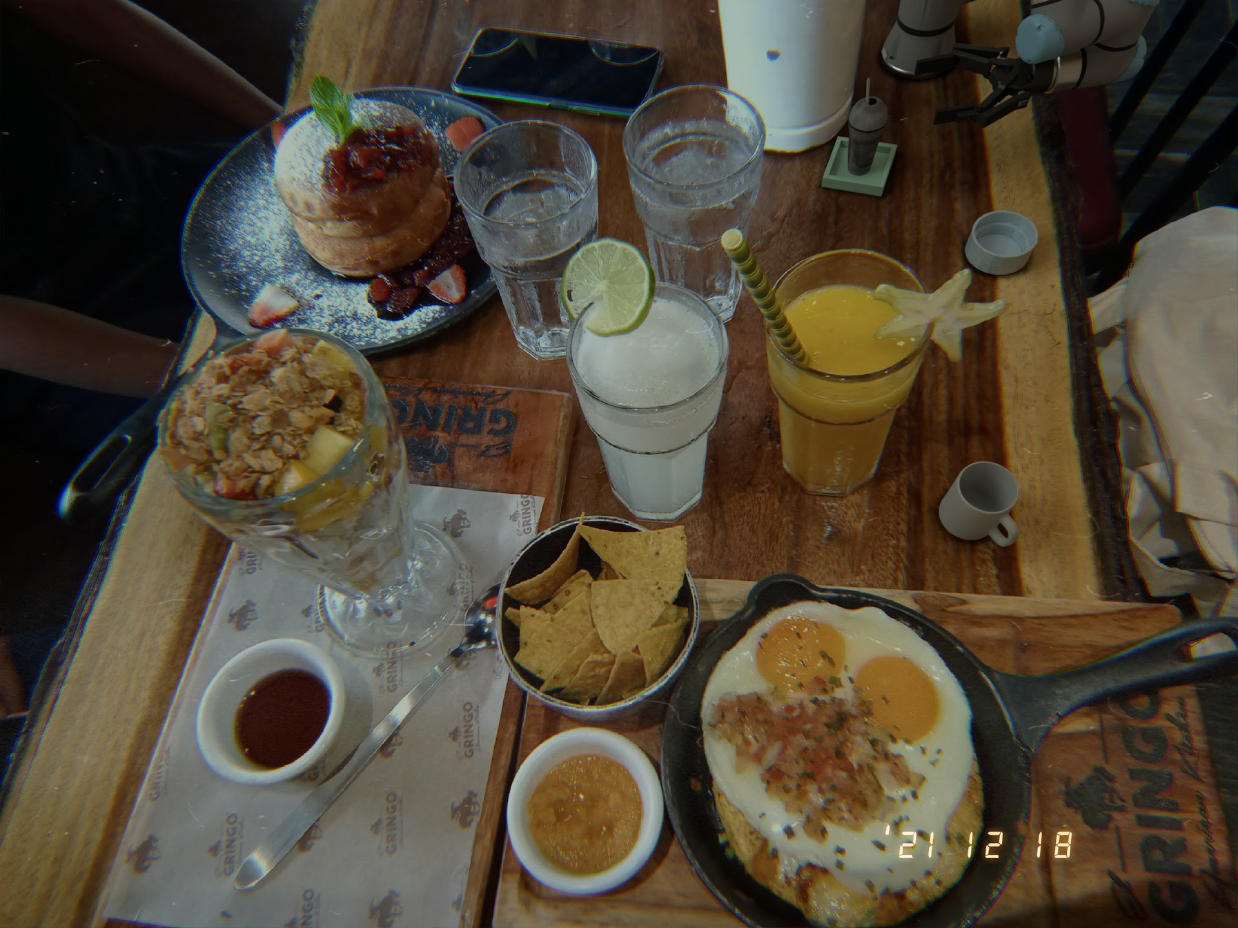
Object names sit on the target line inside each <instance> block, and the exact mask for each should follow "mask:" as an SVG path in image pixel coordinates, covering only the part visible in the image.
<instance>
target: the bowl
mask: <svg viewBox="0 0 1238 928" xmlns="http://www.w3.org/2000/svg"><path fill="white" fill-rule="evenodd" d="M1039 236H1040V235H1039V230H1038V227H1037V226H1036V225H1035V223H1034V222H1033V221H1032V220H1031V219H1030V218H1028V217H1027V216H1025V215H1024V214H1022V213H1019V212H1015V211H1011V210H1005V209H1004V210H993V211H990V212H987V213H984V214H982V215H981V216H980V217H978V218H977V219H976V220H975V222H974V223H973V224H972V227H971V230H970V232H969V234H968V236H967V240H966V243H965V246H964V253H965V257H966V259H967V261H968V262H969V264H971V265H972V266H973V267H975V269H977V270H979V271H981V272H983V273H985V274H990V275H995V276H1000V275H1001V276H1003V275H1004V276H1005V275H1010V274H1013V273H1016V272H1018V271H1020V270H1021V269H1022V268H1024V267H1025V265H1026V264H1027V263H1028V261H1029V259H1030V257H1031V255H1032V254H1033V252H1034V250H1035V247H1036V246H1037V244H1038V241H1039Z"/></svg>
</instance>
